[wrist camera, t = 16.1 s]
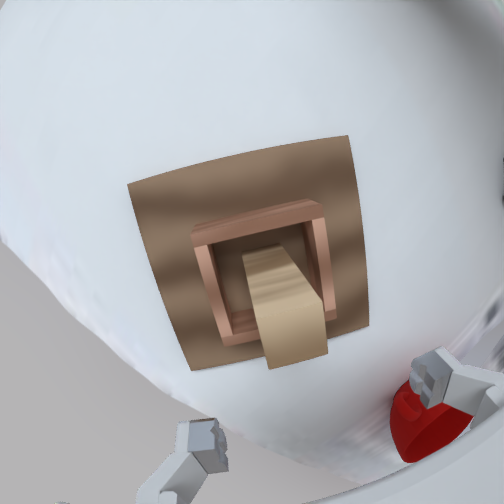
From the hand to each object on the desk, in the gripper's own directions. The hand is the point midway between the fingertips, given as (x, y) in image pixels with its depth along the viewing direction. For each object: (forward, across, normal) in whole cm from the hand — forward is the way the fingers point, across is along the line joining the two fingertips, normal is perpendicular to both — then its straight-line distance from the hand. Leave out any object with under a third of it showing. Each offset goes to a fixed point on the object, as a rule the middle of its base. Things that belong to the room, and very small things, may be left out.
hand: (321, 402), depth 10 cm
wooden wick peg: (+17, 0, 0) cm, 17 cm away
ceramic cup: (+18, -17, +25) cm, 36 cm away
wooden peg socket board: (+18, 0, 0) cm, 18 cm away
